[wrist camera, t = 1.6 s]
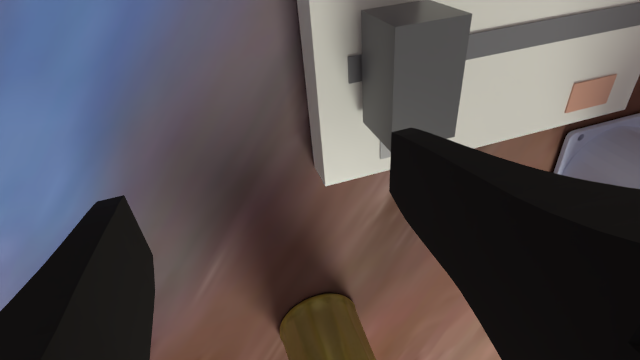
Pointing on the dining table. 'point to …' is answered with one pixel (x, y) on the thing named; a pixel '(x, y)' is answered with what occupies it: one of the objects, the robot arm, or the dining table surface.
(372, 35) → the fader knob
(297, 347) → the vase
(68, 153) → the dining table surface
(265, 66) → the dining table surface
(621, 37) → the fader panel
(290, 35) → the dining table surface
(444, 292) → the dining table surface
